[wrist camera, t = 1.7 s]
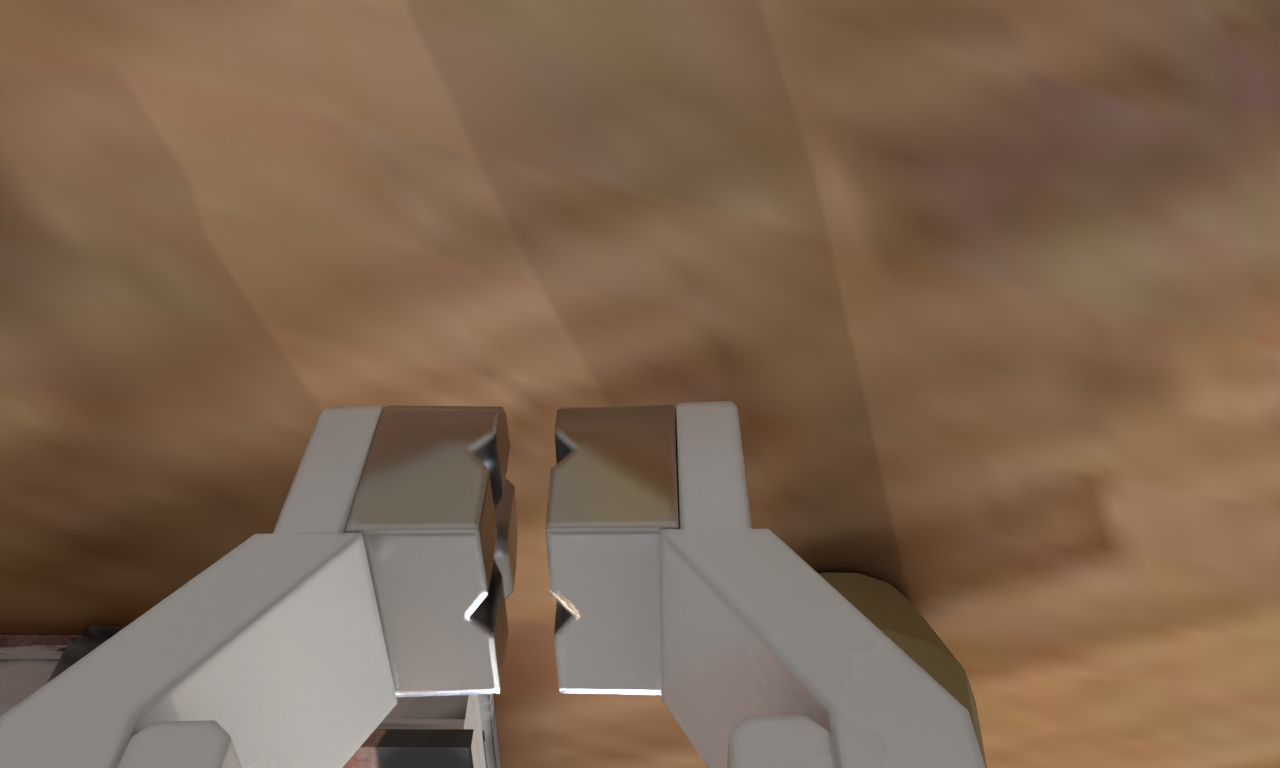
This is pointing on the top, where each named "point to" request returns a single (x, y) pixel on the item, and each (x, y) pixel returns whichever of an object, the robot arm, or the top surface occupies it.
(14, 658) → the book
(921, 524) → the top surface
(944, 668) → the squeeze bottle
